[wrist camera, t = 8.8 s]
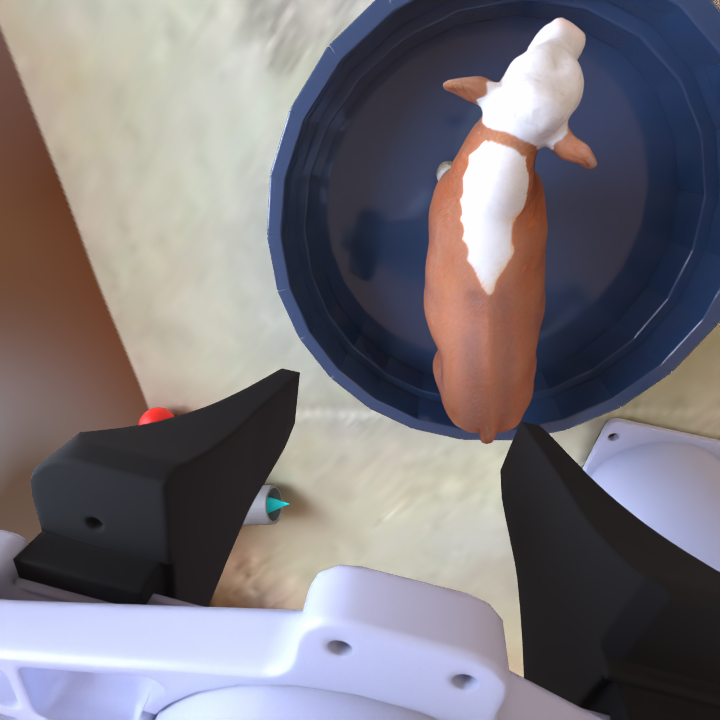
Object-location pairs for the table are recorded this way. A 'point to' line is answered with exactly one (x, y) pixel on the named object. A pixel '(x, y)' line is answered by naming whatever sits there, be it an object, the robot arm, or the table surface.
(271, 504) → the toy gun
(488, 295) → the bull figurine
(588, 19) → the bowl
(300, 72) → the table surface
